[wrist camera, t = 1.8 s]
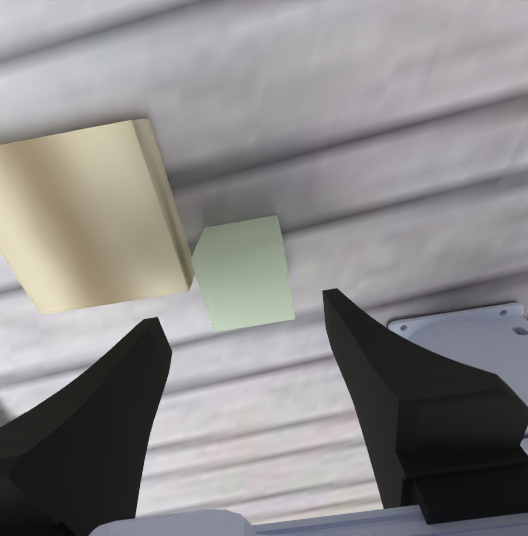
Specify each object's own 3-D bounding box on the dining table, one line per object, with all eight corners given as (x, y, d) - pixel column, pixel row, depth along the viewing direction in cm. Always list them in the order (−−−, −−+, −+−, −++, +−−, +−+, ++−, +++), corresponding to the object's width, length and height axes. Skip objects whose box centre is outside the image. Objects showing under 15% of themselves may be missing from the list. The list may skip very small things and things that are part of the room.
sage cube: (277, 214, 18) (283, 243, 14) (287, 278, 20) (295, 319, 16) (204, 227, 18) (190, 259, 14) (221, 288, 20) (213, 331, 16)
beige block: (151, 118, 16) (131, 119, 13) (197, 267, 20) (188, 291, 17) (-10, 148, 16) (-62, 156, 13) (68, 288, 20) (40, 314, 18)
